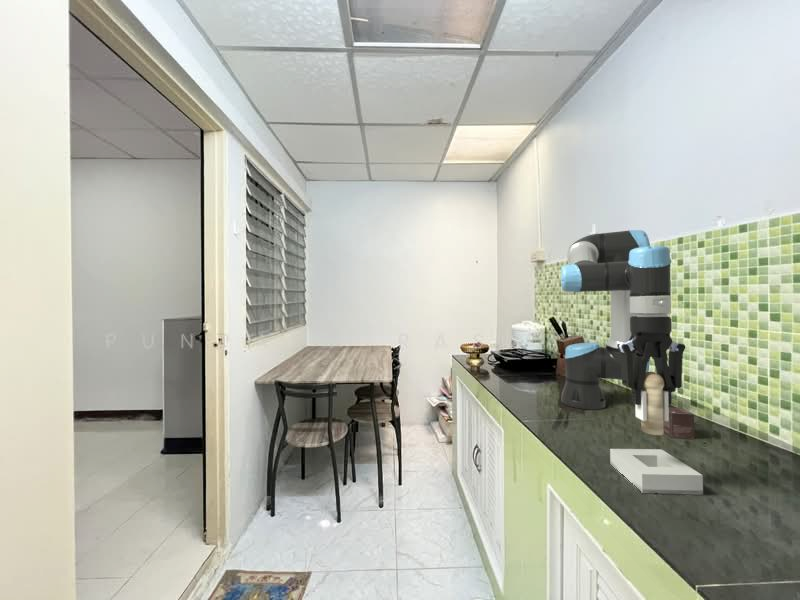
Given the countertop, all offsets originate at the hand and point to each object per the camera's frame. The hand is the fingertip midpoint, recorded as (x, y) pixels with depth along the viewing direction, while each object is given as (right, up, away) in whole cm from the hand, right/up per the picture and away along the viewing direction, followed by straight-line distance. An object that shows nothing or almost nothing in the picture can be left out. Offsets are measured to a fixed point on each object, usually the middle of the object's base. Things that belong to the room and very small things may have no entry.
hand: (651, 418), depth 76 cm
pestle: (0, -3, 0) cm, 3 cm away
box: (+25, -13, +24) cm, 37 cm away
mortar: (0, -14, 0) cm, 14 cm away
